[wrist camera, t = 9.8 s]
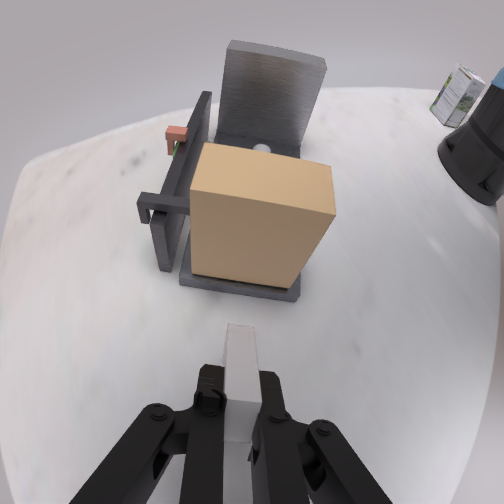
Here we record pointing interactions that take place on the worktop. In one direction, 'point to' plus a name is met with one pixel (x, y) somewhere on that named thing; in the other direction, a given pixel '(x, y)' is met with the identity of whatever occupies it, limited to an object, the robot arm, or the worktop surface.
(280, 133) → the stand
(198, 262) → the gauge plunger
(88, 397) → the worktop surface
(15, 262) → the worktop surface
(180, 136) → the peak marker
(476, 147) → the robot arm
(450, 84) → the syrup box
